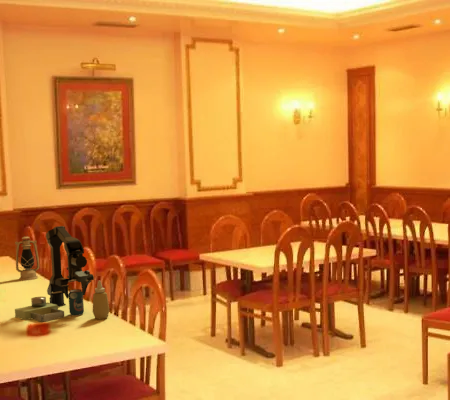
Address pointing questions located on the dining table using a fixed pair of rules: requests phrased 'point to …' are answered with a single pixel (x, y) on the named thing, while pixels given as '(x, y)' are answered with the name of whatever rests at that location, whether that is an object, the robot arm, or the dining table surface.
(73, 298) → the soda can
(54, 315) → the wooden square frame
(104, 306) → the squeeze bottle
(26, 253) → the lantern
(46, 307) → the pale green block
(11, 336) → the dining table surface
